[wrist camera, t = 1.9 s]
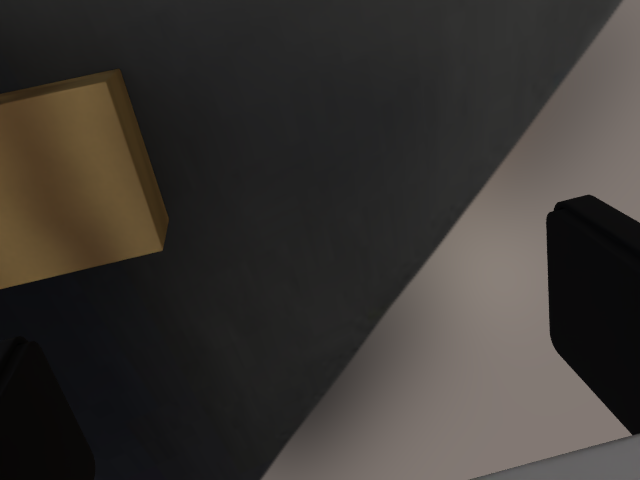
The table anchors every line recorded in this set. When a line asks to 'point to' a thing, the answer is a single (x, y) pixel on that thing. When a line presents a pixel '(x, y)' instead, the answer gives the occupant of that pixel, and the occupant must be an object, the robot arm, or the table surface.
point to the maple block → (74, 180)
